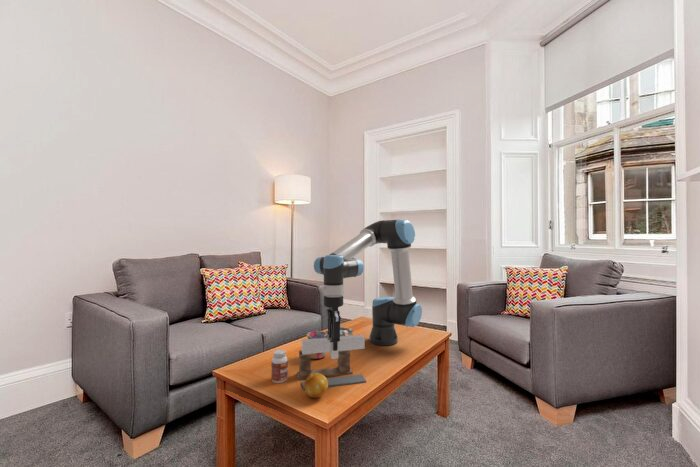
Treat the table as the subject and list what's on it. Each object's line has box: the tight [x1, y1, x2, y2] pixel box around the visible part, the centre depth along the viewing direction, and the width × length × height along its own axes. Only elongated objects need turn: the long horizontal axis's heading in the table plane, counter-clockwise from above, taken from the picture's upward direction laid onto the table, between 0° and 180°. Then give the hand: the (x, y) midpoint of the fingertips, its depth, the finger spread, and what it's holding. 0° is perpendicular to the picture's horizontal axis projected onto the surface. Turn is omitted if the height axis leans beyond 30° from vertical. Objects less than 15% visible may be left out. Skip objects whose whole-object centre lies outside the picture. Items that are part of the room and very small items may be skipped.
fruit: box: [304, 373, 329, 399], centre depth 116 cm, size 8×8×8 cm
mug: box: [306, 330, 328, 360], centre depth 155 cm, size 12×9×11 cm
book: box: [325, 325, 355, 338], centre depth 181 cm, size 20×12×5 cm, turn 143°
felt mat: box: [301, 374, 367, 391], centre depth 127 cm, size 24×6×1 cm, turn 105°
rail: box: [301, 334, 366, 354], centre depth 127 cm, size 24×3×4 cm, turn 105°
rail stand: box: [296, 349, 354, 381], centre depth 135 cm, size 22×6×9 cm, turn 105°
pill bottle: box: [271, 349, 289, 384], centre depth 129 cm, size 6×6×11 cm
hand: (333, 356), depth 127 cm, fingers closed on rail, 3 cm apart
